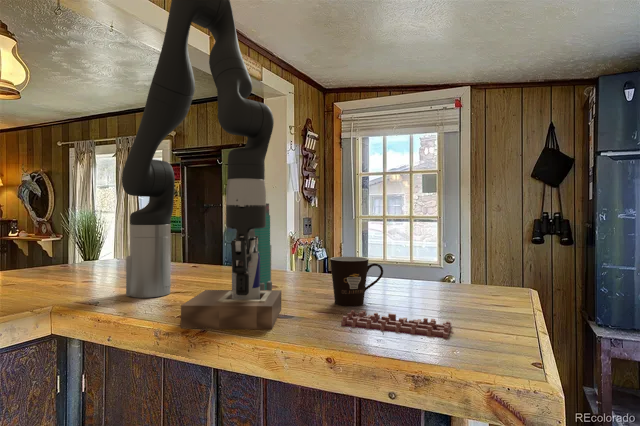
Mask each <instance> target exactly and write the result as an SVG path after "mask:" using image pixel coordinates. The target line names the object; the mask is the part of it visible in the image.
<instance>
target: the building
mask: <svg viewBox="0 0 640 426" xmlns="http://www.w3.org/2000/svg"><path fill="white" fill-rule="evenodd" d="M254 230H255V236H258V238H259V240H258V252H259V255H260V290H273V281H272V244H271V215H270V203H267V202H266V226H265V227H264V228H261V229H254Z"/></svg>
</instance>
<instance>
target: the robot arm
mask: <svg viewBox="0 0 640 426" xmlns="http://www.w3.org/2000/svg"><path fill="white" fill-rule="evenodd" d="M166 23H167V24H166V29H165V35H164V38H163V43H162V45H161V46H162V47H161V50H160V54H159V56H158V61H157V63H156V67H155V71H154V73H153V77H152V80H151V82H150V86H149V90H148V94H147V97H146V98H147V99H146V101H145V107H144V110H143V113H142V117H141V120H140V123H139V127H138V129H137V132H136V135H135V138H134V140H133V143H132V145H131V148H130V151H129V153H128V155H127V158H126V161H125V163H124V167H123V169H122V173H121V186H122V189H123V191H124V192H125V194H127V195H129V196H132V197H143V198H144V197H146V198H148V202H147V204H146V205H145V206H144V207H143V208H141V209H138V210H136V211H135V210H134V211H133V212H132V213H130V217H129V255H127V256H126V258H125V275H126V276H125V284H126V285H125V289H126V290H125V296H126V297H132V298H141V299H142V298H143V299H145V298H146V299H147V298H156V297H157V298H158V297H163V296H168V295H169V294H171V268H172V267H171V264H172V263H171V255H172V254H171V249H172V248H171V241H172V240H171V232H172V231H171V228H172V227H171V226H172V225H171V223H172V221H171V220H172V219H171V218H172V215H173V212H174V203H175V202H174V200H175V198H174V197H175V179H176V178H175V173H174V169H173V167H172V165H171V164H170V163H169V162H168V161H165V160H162V159H161V160H159V159H154V157H155V154H156V152H157V150H158V147H160V145H161V144H162V142H163V141H164V140H165V138H167V137H168V136H169V135H170V134H171V133H172V132H173V131H175V129H176V128H177V127H179V126H180V124H181V123H183V121H184V120H185V119H186V117H187V115H188V114H189V112H190V108H191V105H192V102H193V99H194V96H195V92H196V91H195V90H196V82H195V75H194V70H193V66H192V63H191V59H190V55H189V38H190V37H189V35H190V30H191V27H192V24H194V25H196V26H199V27H201V28H203V29H207V30H208V31H209V32H210V34H211V35H212V37H213V39H214V41H215V42H214V44H213V46H212V48H211V50H210V53H209V59H208V64H209V65H208V66H209V70H210V73H211V76H212V80H213V82H214V84H215V85H214V86H215V89H216V93H217V120H218V124H219V125H220V127H221V128H222V130H224V131H225V132H226V133H228V134H230V135H234V136H240V137H246V138H247V140H246V144H245V145H244V147H236V148H233V149H230V151H229V152H228V155H227V181H226V182H227V184H226V190H225V204H226V205H225V226H226V228H227V229H233V230H234V229H235V230H236V234H235V238H233V240H231V242H230V248H231V272H232V271H233V273H235V275H236V294H237V295H247V294H248V293H249V272H250V270H249V267H250V263H252V261H253V251H254V253H256V251H257V252H258V240H259V238H258V236H255V230H254V229H261V228H264V227H265V226H266V203H267V190H266V183H265V182H266V181H265V179H266V178H265V177H266V175H265V174H266V173H265V172H266V169H265V168H266V167H265V162H266V161H265V160H266V156H267V152H268V149H269V144H270V140H271V138H272V135H273V130H274V123H275V121H274V114H273V111H272V110H271V108H270V107H269V106H268V105H267V104H266V103H264V102H260V101H257V100H253V99H248V98H249V97H250V95H251V93H252V92H253V82H252V79H251V76H250V74H249V70H248V68H247V66H246V64H245V61H244V57H243V56H242V52H241V49H240V45H239V40H238V35H237V34H238V33H237V30H236V29H237V28H236V24H235V18H234V13H233V7H232V3H231V0H171V2H170V6H169V13H168V17H167V22H166ZM248 254H249V256H248V257H247V255H248ZM240 262H243V266H239V263H240Z"/></svg>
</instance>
